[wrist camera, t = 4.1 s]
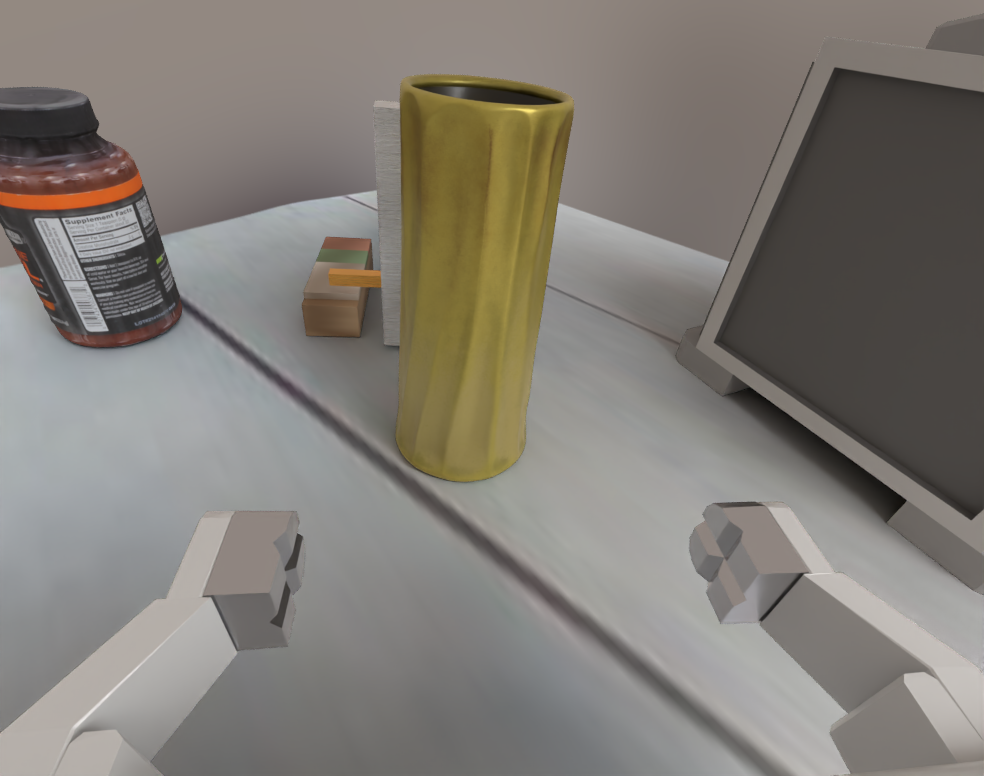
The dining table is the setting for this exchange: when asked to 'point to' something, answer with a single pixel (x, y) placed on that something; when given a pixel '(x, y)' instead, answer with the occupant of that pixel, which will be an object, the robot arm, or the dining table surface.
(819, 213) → the grey box
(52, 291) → the supplement bottle
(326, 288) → the rail
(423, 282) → the vase
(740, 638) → the dining table surface
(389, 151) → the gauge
